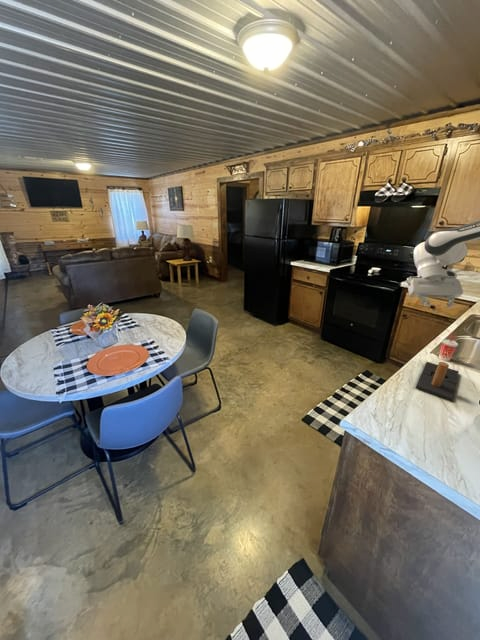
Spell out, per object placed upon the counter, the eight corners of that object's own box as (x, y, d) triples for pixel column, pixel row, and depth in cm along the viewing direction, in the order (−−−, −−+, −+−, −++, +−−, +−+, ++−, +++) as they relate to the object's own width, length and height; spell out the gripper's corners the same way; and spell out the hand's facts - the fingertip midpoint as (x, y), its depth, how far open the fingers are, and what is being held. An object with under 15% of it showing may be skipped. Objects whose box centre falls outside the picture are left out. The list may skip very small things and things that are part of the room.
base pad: (425, 364, 124) (426, 361, 124) (457, 374, 117) (458, 371, 116) (421, 375, 116) (422, 372, 115) (455, 386, 109) (456, 383, 108)
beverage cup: (455, 361, 127) (465, 335, 121) (443, 362, 126) (453, 336, 120) (445, 354, 132) (454, 329, 127) (433, 355, 132) (442, 330, 126)
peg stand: (422, 372, 118) (429, 349, 114) (455, 383, 111) (464, 359, 106) (415, 388, 107) (423, 364, 103) (451, 401, 100) (461, 376, 95)
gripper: (410, 272, 109) (417, 302, 104) (460, 273, 109) (470, 303, 103) (402, 280, 115) (408, 308, 110) (449, 281, 114) (458, 309, 109)
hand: (438, 306), depth 107 cm, fingers open, 8 cm apart
